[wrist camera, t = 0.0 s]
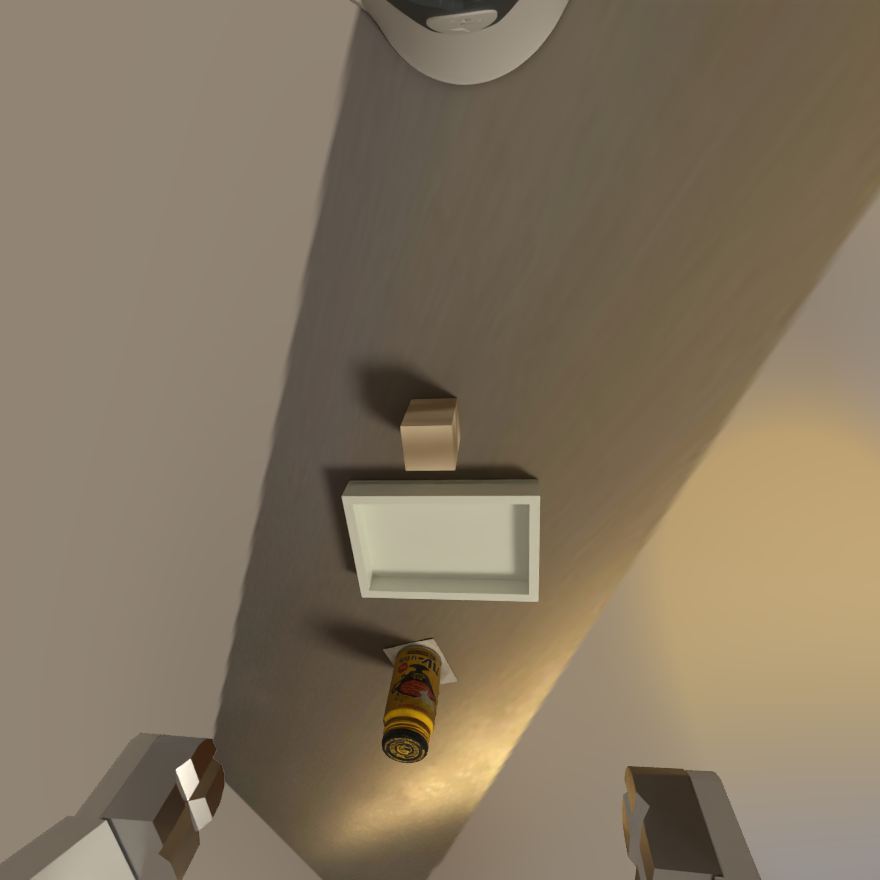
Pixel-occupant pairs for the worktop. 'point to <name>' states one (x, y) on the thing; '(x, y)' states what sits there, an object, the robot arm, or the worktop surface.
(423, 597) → the shallow rimmed tray
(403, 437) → the birch block
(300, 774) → the worktop surface
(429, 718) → the condiment
